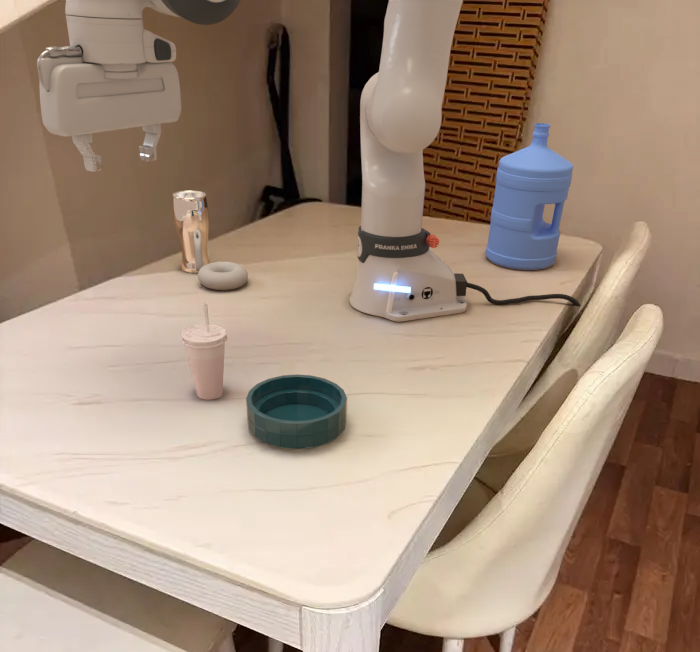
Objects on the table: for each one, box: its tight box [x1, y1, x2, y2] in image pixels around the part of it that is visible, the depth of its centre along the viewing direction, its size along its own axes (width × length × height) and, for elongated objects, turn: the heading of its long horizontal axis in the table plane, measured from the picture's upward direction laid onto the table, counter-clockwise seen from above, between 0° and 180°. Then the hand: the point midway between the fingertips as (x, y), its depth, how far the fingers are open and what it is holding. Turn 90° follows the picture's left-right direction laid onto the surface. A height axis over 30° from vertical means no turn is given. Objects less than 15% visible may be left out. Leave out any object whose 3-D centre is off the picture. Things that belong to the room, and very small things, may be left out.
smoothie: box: [180, 302, 228, 401], centre depth 99 cm, size 6×6×14 cm
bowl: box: [245, 373, 348, 450], centre depth 95 cm, size 13×13×4 cm
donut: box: [197, 261, 249, 291], centre depth 140 cm, size 10×4×10 cm
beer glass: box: [172, 189, 211, 274], centre depth 144 cm, size 7×7×15 cm
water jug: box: [485, 122, 574, 271], centre depth 151 cm, size 16×16×28 cm
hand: (122, 165), depth 93 cm, fingers open, 8 cm apart
